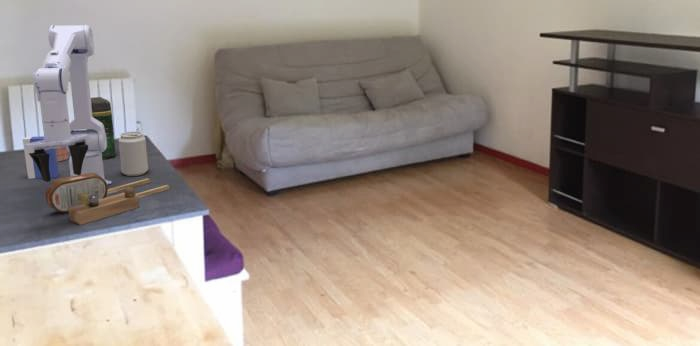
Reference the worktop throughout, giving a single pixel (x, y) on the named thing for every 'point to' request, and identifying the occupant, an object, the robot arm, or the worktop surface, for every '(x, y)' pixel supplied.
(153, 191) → the oak guide strips
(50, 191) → the tin
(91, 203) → the brass lever
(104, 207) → the wooden block with knobs
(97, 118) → the coffee jar
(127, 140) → the can
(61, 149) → the puzzle toy
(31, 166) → the walkman
